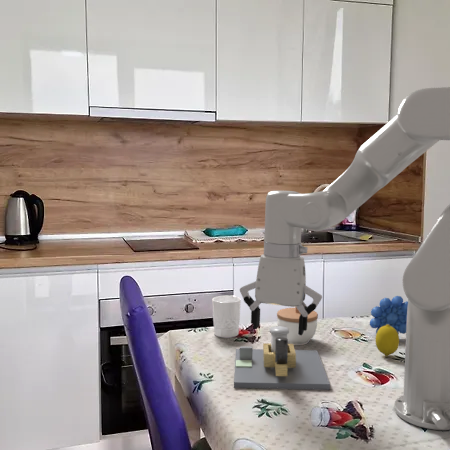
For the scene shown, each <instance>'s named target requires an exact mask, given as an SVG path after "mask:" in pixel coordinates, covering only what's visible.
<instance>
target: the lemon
mask: <svg viewBox="0 0 450 450" xmlns="http://www.w3.org/2000/svg"><path fill="white" fill-rule="evenodd" d="M375 334H376V333H375ZM399 345H400V336H399V334H398V333H397V331H396V330H395V329H394V328H393V327H391V326H390V325H388V324H387V325H386V326H382V327H381V328H380V329H379V330H378V331H377V334H376V335H375V347H376V348H377V349H378V352H380V353H382V354H383V355H384V356H385V357H388V356H390V355H392V354H394V353H396V352H397V350H398V349H399Z"/></svg>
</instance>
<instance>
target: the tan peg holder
mask: <svg viewBox="0 0 450 450" xmlns="http://www.w3.org/2000/svg"><path fill="white" fill-rule="evenodd" d="M262 349H263V361H264V367H275V373H276V376H287V368H296V353H295V350H296V349H295V345H293V344H289V343H288V339H287V338H284V337H278V338H276V339H275V352H274V353H271V343H270V342H269V343H268V342H267V343H263V344H262Z"/></svg>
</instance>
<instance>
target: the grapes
mask: <svg viewBox="0 0 450 450" xmlns="http://www.w3.org/2000/svg"><path fill="white" fill-rule="evenodd" d="M407 308H408V300H407V301H406V300H405V301H404V299H403V297H402V296H400V295H395V296H394V297H392V299H390V298H389V297H384V298H382V299H381V300H379V306H378V305H376V306H374V307H373V308H372V309H371V310H370V315H371V316H372V318H370V321H369V326H370V328H371V329H376V330H375V334H377V331H378V330H379V329H380V328H381V327H382V326H386V325H387V324H388V325H390V326H391V327H393V328H394V329H395V330H396V331H397V333H398V335H399V334H402V335H403V334H404V335H406V326H407Z"/></svg>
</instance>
